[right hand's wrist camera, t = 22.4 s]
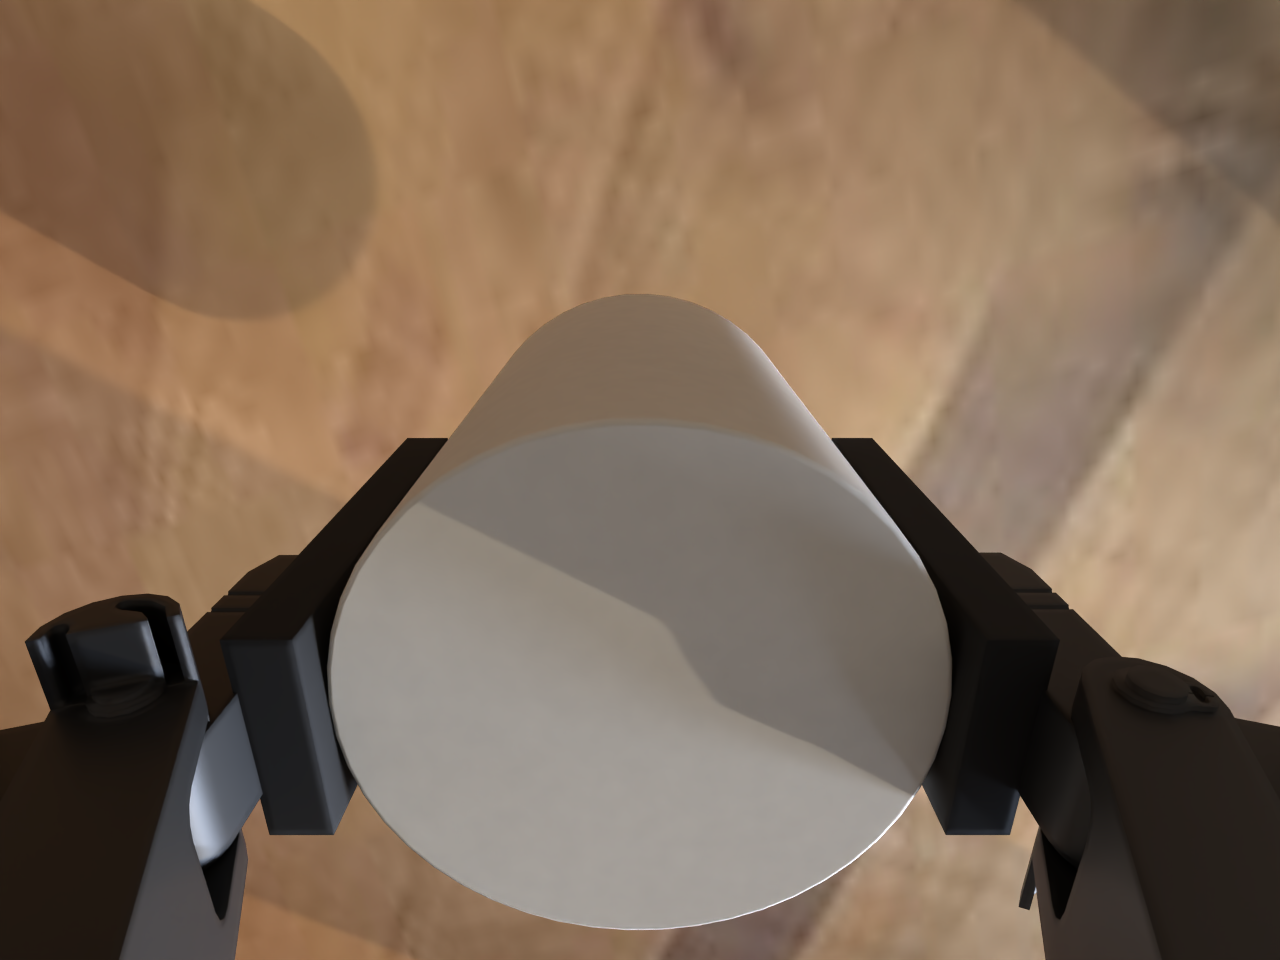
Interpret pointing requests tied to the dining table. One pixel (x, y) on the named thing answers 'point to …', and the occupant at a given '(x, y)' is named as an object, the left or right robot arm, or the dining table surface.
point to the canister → (639, 635)
